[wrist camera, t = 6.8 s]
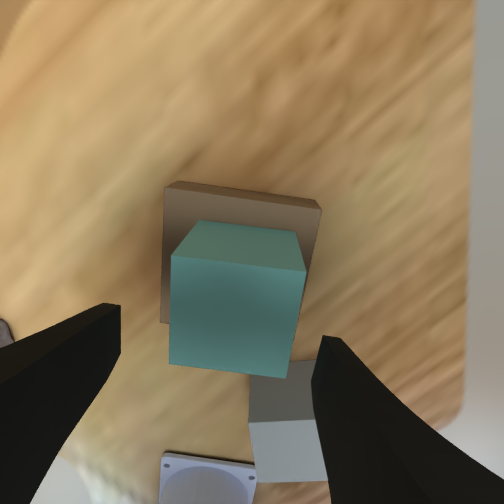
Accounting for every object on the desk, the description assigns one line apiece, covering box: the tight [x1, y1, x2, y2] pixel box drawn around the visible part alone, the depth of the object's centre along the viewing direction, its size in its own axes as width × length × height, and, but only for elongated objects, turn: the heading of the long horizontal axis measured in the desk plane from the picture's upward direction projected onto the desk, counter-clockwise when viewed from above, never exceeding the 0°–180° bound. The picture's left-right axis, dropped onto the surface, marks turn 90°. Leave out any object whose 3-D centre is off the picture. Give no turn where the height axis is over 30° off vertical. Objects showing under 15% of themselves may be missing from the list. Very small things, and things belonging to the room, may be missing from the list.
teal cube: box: [169, 220, 306, 379], centre depth 15 cm, size 5×5×5 cm
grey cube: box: [248, 360, 328, 483], centre depth 21 cm, size 5×5×5 cm
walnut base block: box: [160, 181, 322, 341], centre depth 18 cm, size 8×8×3 cm
